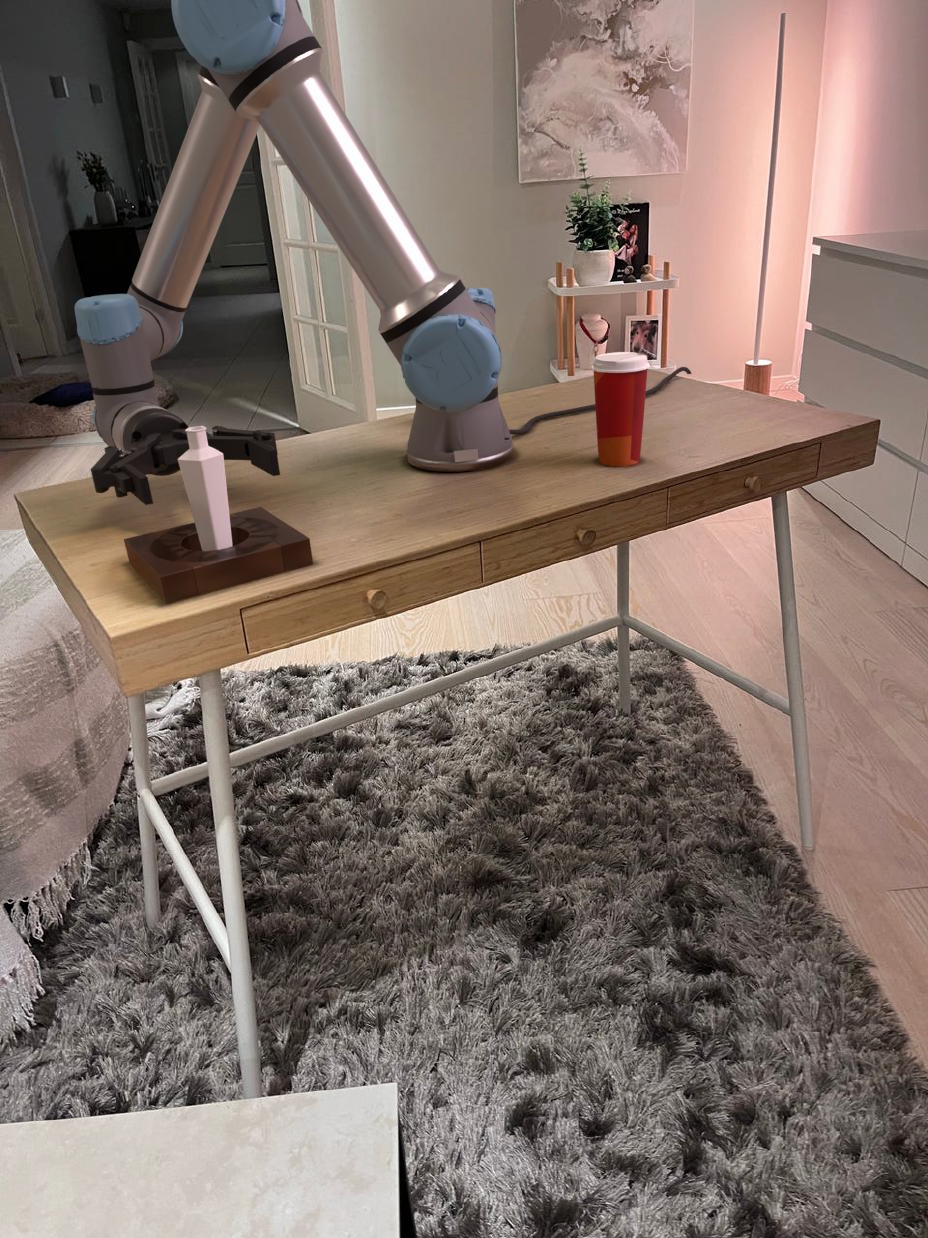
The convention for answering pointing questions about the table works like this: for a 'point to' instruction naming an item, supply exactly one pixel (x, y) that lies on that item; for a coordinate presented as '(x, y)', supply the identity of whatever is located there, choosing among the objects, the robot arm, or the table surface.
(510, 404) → the table surface
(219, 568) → the socket pad
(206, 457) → the perfume bottle
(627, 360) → the paper cup
